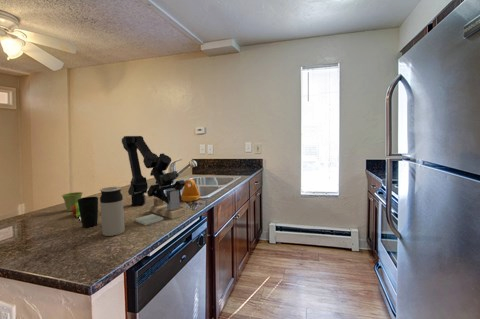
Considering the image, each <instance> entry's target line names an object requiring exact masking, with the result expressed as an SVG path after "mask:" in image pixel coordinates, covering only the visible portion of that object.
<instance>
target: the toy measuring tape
mask: <svg viewBox="0 0 480 319" xmlns="http://www.w3.org/2000/svg"><path fill="white" fill-rule="evenodd" d="M71 212H72V215H75V217H76V219H78V220H79V219H80V221H79V223H82V221H81V216H80V211H79V206H78V203H76V204H75V206H73V207H72V211H71ZM78 217H79V218H78Z"/></svg>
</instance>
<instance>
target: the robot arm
mask: <svg viewBox="0 0 480 319" xmlns="http://www.w3.org/2000/svg"><path fill="white" fill-rule="evenodd" d="M121 144H122V148H123V149H125V151H126V152H127V155H128V160H129V165H130V172H131V175H132V178H131V180H130V186H129V188H128V191H127V192H128V195H129V196H130V197H131V205H130V206H131V207H135V206H144V205H145V204H146V201H147V200H146V198H147V197H146V195H145V194H147V196H148V197H150V198H152V197H153V198H159V199H161V200H163V203H164V202H165V204H169V200H168V198H167V195H166V193H165V191H169V190H179V202H180V201H182V200H181V195H182V192H181V191H183V190H182V189H184V185H185V184H186V183H185V182H186V180H184V179H180V180H176V179H177V178H178V177H179V173H178V172H177V170H173V171H172V172H167V173H166V171H167V169H168V168H169V166H170V164H171V162H172V158H171V157H170V156H169V155H166V154H165V153H159V155H157V153H154V152H153V151H152V150H151V149H150V147H149V146H148V145H147V142H146V141H145V140H144V137H143V136H141V135H125V136H123V137H122V138H121ZM138 151H139V152H140V154H141V156H142V158H143V159H142V160H143V165H144V167H145V168H146V169H151V171H150V174H149V176H150V177H151V176H153V178H154V179H155V184H150V186H149V185H148V182H147V178H146V176H145V177H144V176H143V175H142V169H141V166H140V160H139V159H140V158H139V155H138ZM174 180H176V181H175V183H174ZM173 183H174V184H173ZM148 187H149V188H148Z"/></svg>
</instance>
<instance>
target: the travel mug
mask: <svg viewBox="0 0 480 319" xmlns="http://www.w3.org/2000/svg"><path fill="white" fill-rule="evenodd" d="M121 190H122V187H121V186H108V187H104V188H100V189H99V191H100V197H99V204H100V216H101V217H100V218H101V230H102V232H101V233H102V235H103V236H105V237H115V236H118V235H121V234H123V233H124V232H125V230H126V228H125V212H124V200H123V194H122V192H121ZM114 235H115V236H114Z"/></svg>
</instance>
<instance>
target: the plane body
mask: <svg viewBox="0 0 480 319" xmlns="http://www.w3.org/2000/svg"><path fill="white" fill-rule="evenodd" d="M185 211H186V209H185V208H182V207H180V209H177V210H173V211H169V210H167V203H164V201H163V200H161V199H159V198H157V197H153V204H151V205H149V212H150V213H152V214H153V213H154V214H155V215H158V216H161V217H162V216H163V217H166V218H169V219H171V220H172V219H173V220H174V219H177V218H179V217H180V218H181V217H184V216H186V212H185Z"/></svg>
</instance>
